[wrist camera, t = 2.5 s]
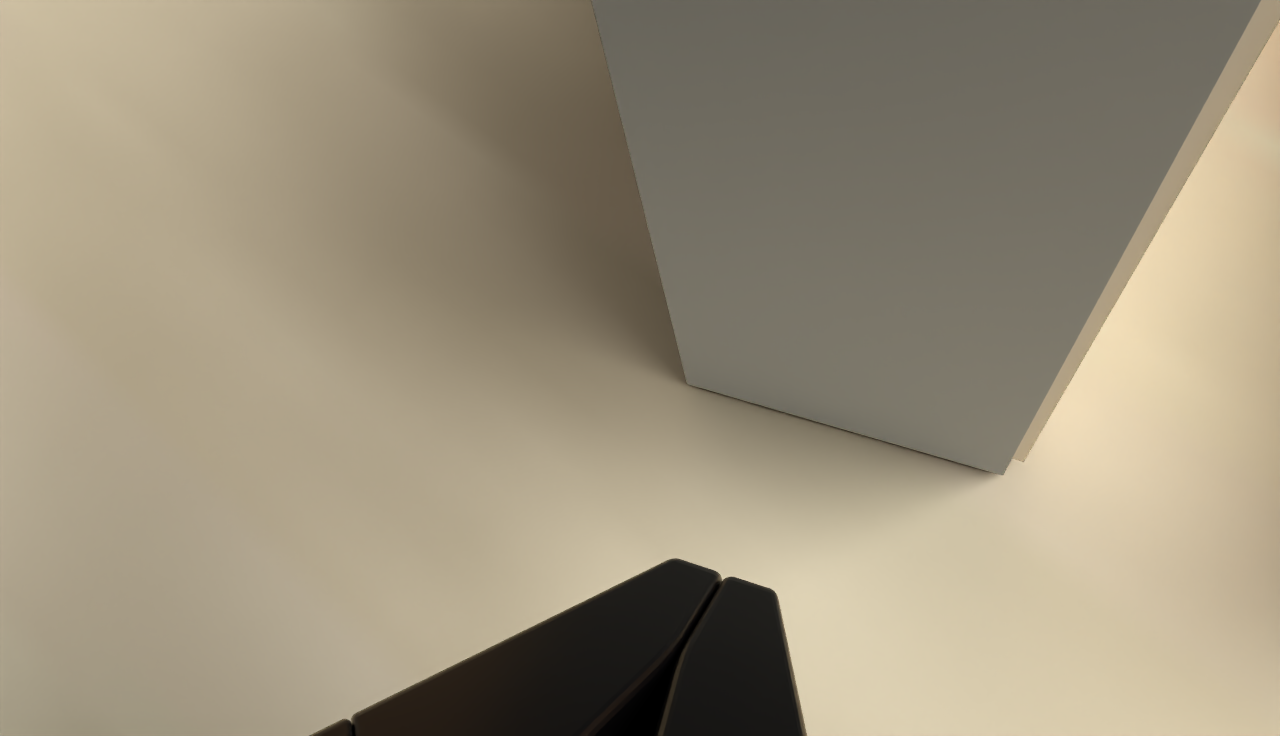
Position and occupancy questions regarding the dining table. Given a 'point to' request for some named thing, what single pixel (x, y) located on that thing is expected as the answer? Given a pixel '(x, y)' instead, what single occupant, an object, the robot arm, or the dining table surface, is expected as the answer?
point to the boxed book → (913, 192)
